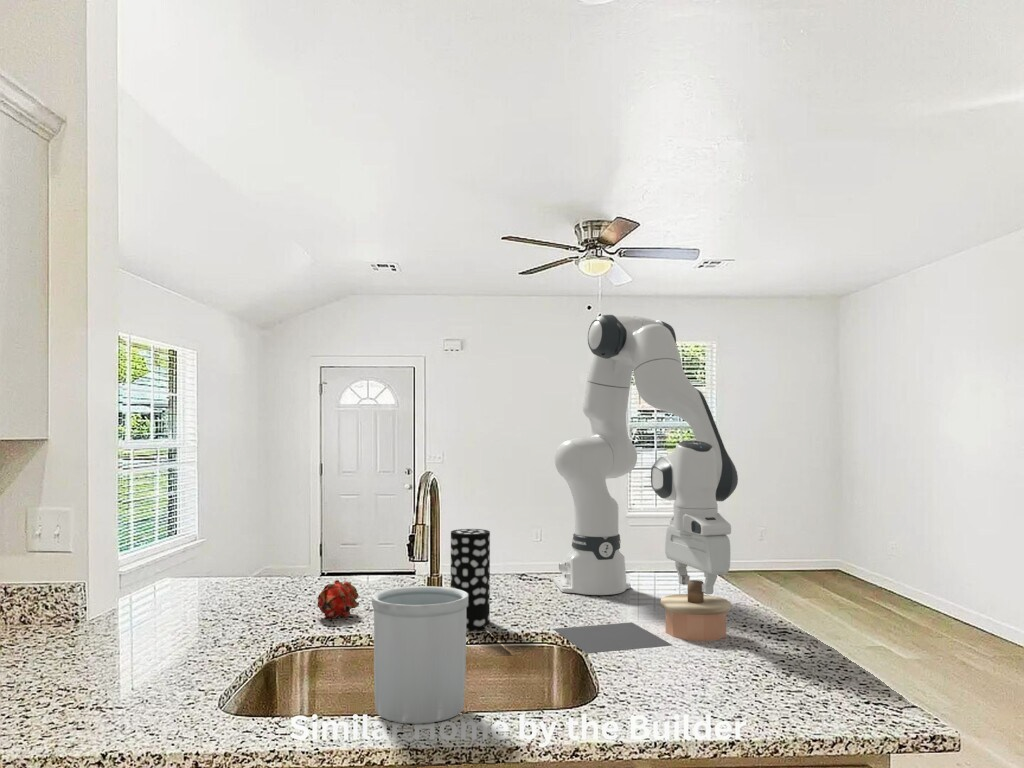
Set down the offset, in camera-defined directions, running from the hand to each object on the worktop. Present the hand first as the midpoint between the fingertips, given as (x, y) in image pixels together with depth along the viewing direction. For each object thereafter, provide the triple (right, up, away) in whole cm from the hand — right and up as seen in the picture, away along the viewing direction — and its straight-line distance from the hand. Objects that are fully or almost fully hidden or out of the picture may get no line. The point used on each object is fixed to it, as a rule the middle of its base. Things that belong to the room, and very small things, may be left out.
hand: (695, 588), depth 173 cm
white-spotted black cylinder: (-46, -10, +7) cm, 48 cm away
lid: (0, -4, 0) cm, 4 cm away
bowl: (0, -10, 0) cm, 10 cm away
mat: (-18, -9, -4) cm, 20 cm away
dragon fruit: (-76, -10, +14) cm, 78 cm away
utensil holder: (-52, -9, -42) cm, 67 cm away
